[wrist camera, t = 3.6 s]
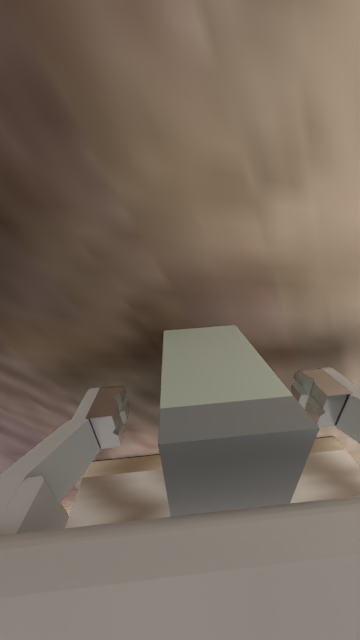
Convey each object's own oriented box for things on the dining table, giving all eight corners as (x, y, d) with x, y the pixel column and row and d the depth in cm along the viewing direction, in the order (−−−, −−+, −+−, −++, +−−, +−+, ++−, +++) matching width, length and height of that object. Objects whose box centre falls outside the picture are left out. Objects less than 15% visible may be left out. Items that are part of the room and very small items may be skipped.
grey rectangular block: (169, 385, 11) (171, 519, 6) (163, 330, 10) (157, 444, 4) (231, 380, 11) (288, 506, 6) (235, 324, 10) (319, 428, 4)
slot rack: (134, 561, 23) (127, 622, 19) (88, 462, 14) (60, 540, 10) (285, 543, 23) (306, 598, 20) (333, 436, 15) (389, 501, 11)
